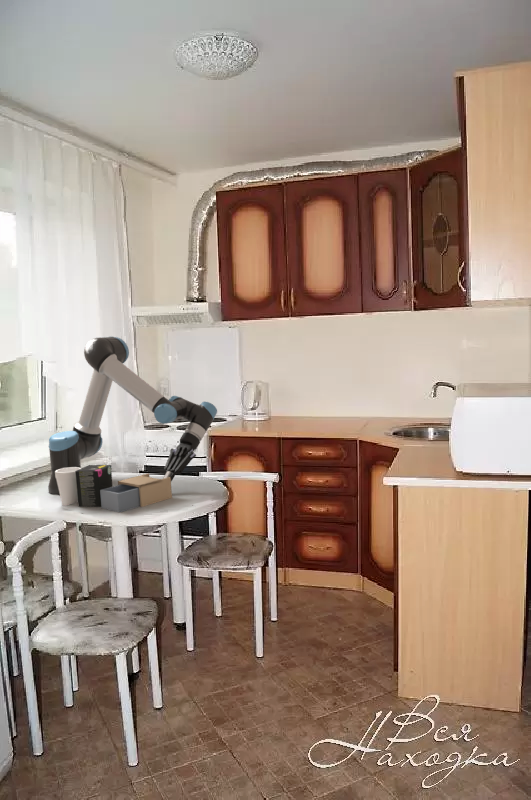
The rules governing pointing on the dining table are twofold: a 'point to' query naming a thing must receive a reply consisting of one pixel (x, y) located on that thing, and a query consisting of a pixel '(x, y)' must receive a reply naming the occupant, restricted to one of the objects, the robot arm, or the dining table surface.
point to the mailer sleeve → (150, 488)
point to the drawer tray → (120, 498)
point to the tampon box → (92, 484)
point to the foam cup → (67, 485)
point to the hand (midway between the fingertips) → (162, 487)
